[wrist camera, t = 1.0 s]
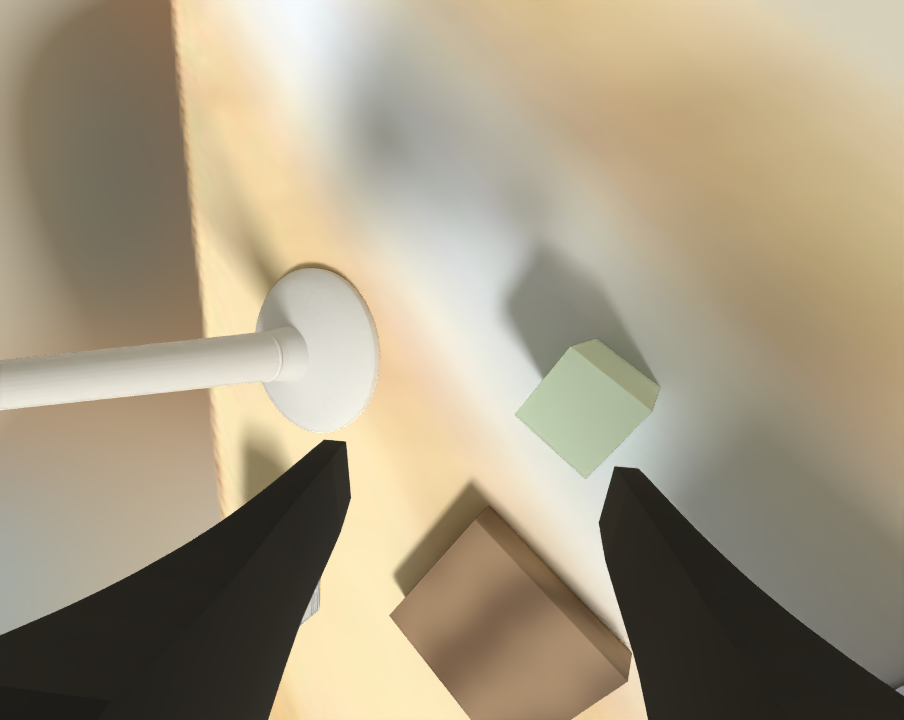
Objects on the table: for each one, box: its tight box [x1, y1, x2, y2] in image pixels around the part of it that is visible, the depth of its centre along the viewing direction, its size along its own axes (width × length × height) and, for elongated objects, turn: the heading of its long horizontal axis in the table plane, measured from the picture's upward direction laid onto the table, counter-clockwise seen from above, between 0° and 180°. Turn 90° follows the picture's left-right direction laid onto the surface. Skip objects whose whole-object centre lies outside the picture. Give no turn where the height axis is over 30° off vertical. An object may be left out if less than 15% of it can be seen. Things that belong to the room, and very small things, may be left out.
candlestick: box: [0, 268, 380, 433], centre depth 20 cm, size 13×13×30 cm
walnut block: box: [389, 506, 632, 720], centre depth 27 cm, size 11×11×2 cm
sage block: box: [515, 338, 660, 479], centre depth 20 cm, size 4×4×6 cm
